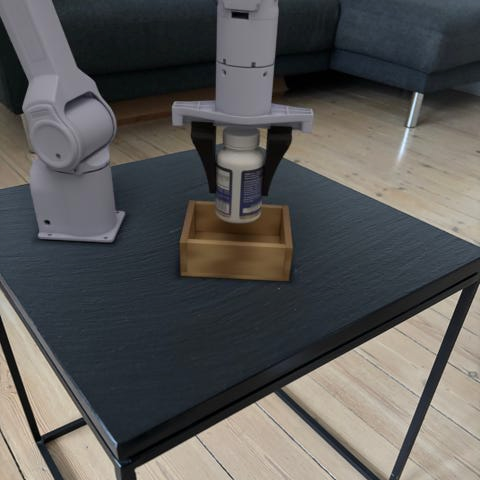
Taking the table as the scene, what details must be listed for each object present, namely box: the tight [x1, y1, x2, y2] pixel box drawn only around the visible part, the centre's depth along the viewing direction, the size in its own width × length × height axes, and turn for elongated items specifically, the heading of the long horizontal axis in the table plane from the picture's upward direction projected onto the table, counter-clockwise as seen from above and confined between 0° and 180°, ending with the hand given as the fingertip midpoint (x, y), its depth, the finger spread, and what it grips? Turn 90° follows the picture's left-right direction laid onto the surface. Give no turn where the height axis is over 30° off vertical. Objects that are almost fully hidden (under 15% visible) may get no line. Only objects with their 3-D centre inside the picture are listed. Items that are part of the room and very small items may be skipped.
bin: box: [179, 199, 294, 282], centre depth 63 cm, size 13×11×4 cm
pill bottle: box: [214, 126, 266, 224], centre depth 58 cm, size 5×5×10 cm
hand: (239, 191), depth 59 cm, fingers closed on pill bottle, 5 cm apart
